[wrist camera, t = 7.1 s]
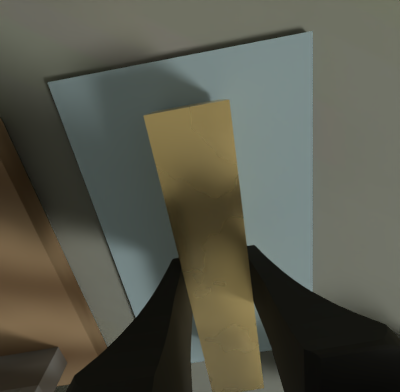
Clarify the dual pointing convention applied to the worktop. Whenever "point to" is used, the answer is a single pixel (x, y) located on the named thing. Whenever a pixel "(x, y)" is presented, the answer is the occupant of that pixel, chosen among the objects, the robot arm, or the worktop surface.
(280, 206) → the rubber mat
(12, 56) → the worktop surface
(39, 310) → the hook stand
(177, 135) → the brass rail
